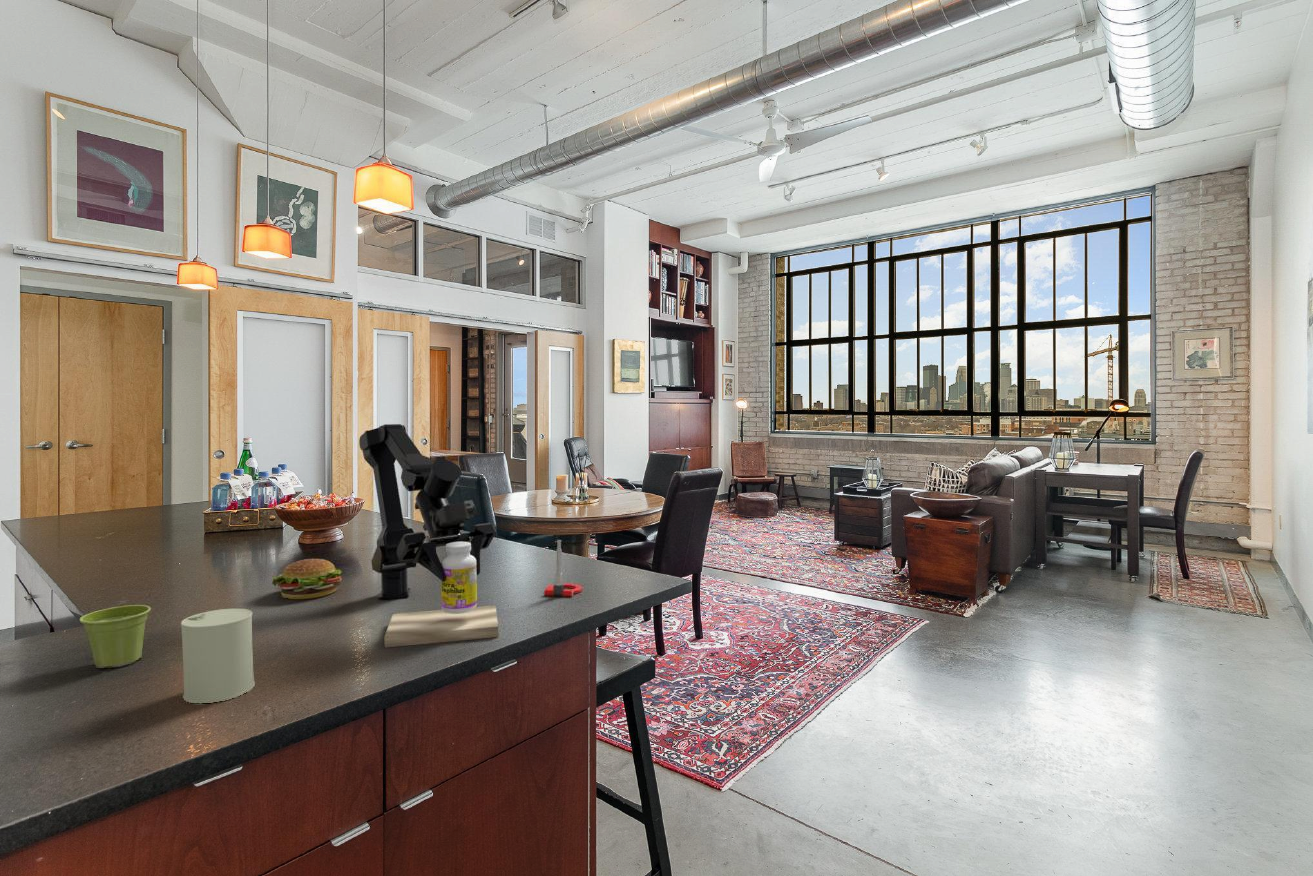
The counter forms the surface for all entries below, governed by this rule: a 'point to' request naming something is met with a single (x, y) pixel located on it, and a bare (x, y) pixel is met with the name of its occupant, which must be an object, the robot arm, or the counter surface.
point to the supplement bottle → (459, 579)
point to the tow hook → (559, 587)
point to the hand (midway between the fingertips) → (461, 577)
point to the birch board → (441, 626)
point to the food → (308, 579)
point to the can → (217, 655)
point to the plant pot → (116, 633)
